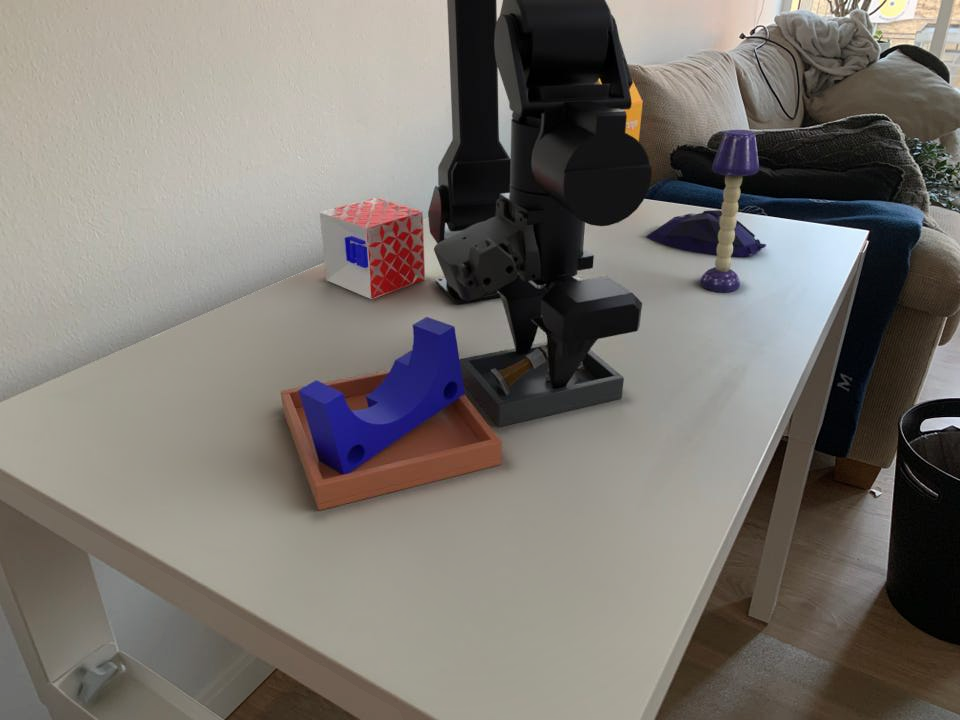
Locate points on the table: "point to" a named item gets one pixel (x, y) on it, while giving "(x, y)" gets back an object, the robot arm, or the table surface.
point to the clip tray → (394, 447)
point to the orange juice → (633, 112)
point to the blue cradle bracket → (386, 400)
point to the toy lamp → (730, 203)
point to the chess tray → (537, 386)
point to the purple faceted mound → (704, 234)
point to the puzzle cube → (373, 246)
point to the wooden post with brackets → (523, 368)
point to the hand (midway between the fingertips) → (539, 370)
